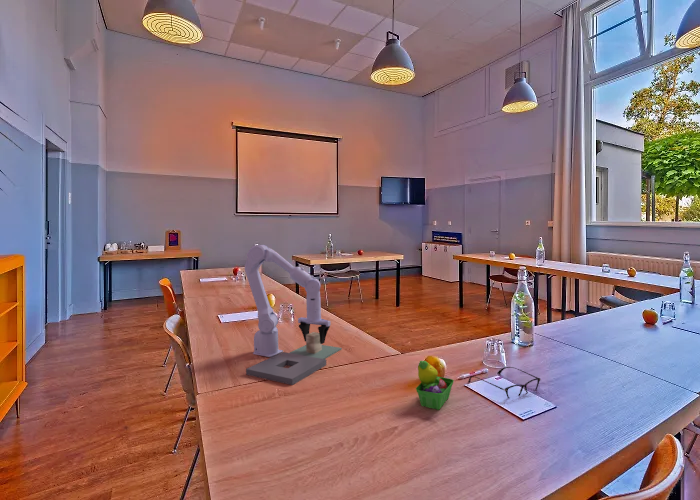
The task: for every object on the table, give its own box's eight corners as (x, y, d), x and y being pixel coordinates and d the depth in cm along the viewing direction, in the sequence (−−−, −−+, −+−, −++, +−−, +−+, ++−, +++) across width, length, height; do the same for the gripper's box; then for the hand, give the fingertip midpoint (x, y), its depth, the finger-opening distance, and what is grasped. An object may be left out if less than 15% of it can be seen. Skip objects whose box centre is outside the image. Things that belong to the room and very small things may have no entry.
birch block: (306, 352, 149) (305, 335, 148) (313, 348, 153) (313, 331, 153) (314, 353, 147) (314, 336, 146) (321, 350, 151) (321, 333, 151)
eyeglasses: (505, 402, 104) (505, 388, 104) (464, 383, 118) (464, 370, 118) (543, 390, 112) (543, 377, 111) (500, 373, 126) (500, 361, 125)
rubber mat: (286, 355, 147) (286, 353, 147) (310, 344, 161) (310, 342, 161) (320, 361, 139) (320, 359, 139) (341, 349, 153) (341, 347, 153)
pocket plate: (246, 374, 128) (246, 368, 128) (283, 356, 145) (283, 351, 145) (292, 385, 118) (292, 378, 118) (326, 364, 136) (326, 359, 136)
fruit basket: (442, 413, 98) (441, 371, 97) (410, 405, 103) (410, 365, 102) (454, 396, 108) (454, 358, 107) (425, 390, 112) (425, 353, 112)
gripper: (293, 309, 149) (294, 342, 150) (323, 312, 142) (324, 347, 143) (303, 305, 156) (304, 337, 156) (333, 308, 148) (333, 342, 149)
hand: (314, 342), depth 150 cm, fingers open, 7 cm apart
